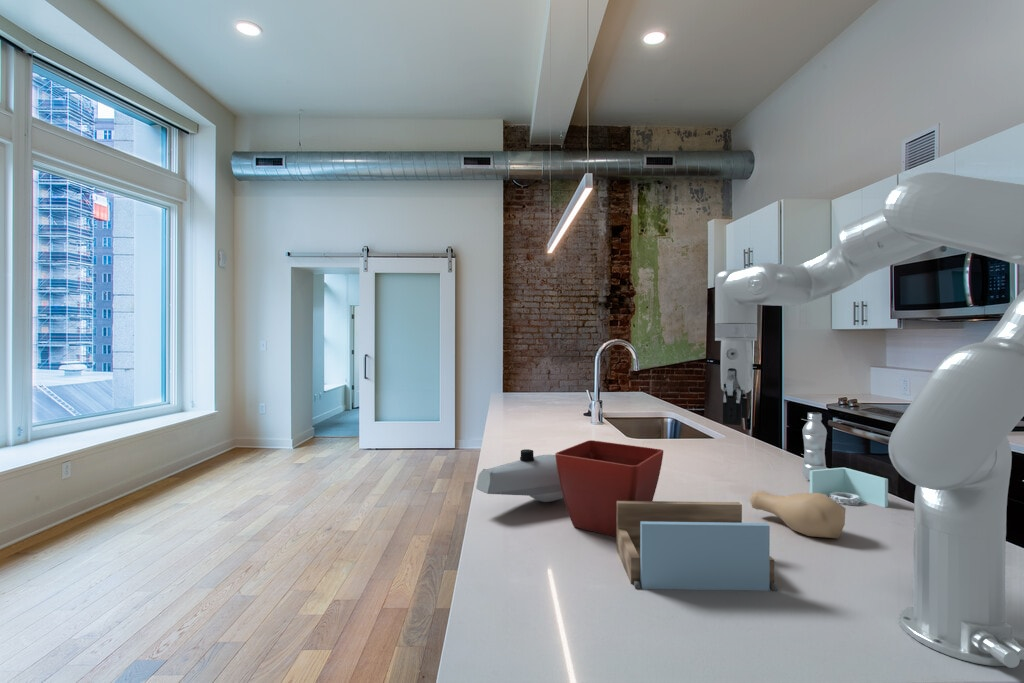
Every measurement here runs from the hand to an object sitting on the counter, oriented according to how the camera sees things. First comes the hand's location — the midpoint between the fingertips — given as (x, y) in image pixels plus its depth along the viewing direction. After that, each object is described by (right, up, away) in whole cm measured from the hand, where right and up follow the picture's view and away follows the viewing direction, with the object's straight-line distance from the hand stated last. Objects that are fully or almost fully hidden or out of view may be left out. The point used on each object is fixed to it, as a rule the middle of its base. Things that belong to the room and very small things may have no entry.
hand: (735, 420), depth 98 cm
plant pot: (-21, -26, +16) cm, 37 cm away
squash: (+19, -26, +14) cm, 36 cm away
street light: (-39, -26, +30) cm, 56 cm away
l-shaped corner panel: (+43, -27, +32) cm, 60 cm away
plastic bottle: (+47, -26, +52) cm, 75 cm away
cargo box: (-11, -26, -6) cm, 29 cm away
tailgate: (-11, -26, -15) cm, 32 cm away
